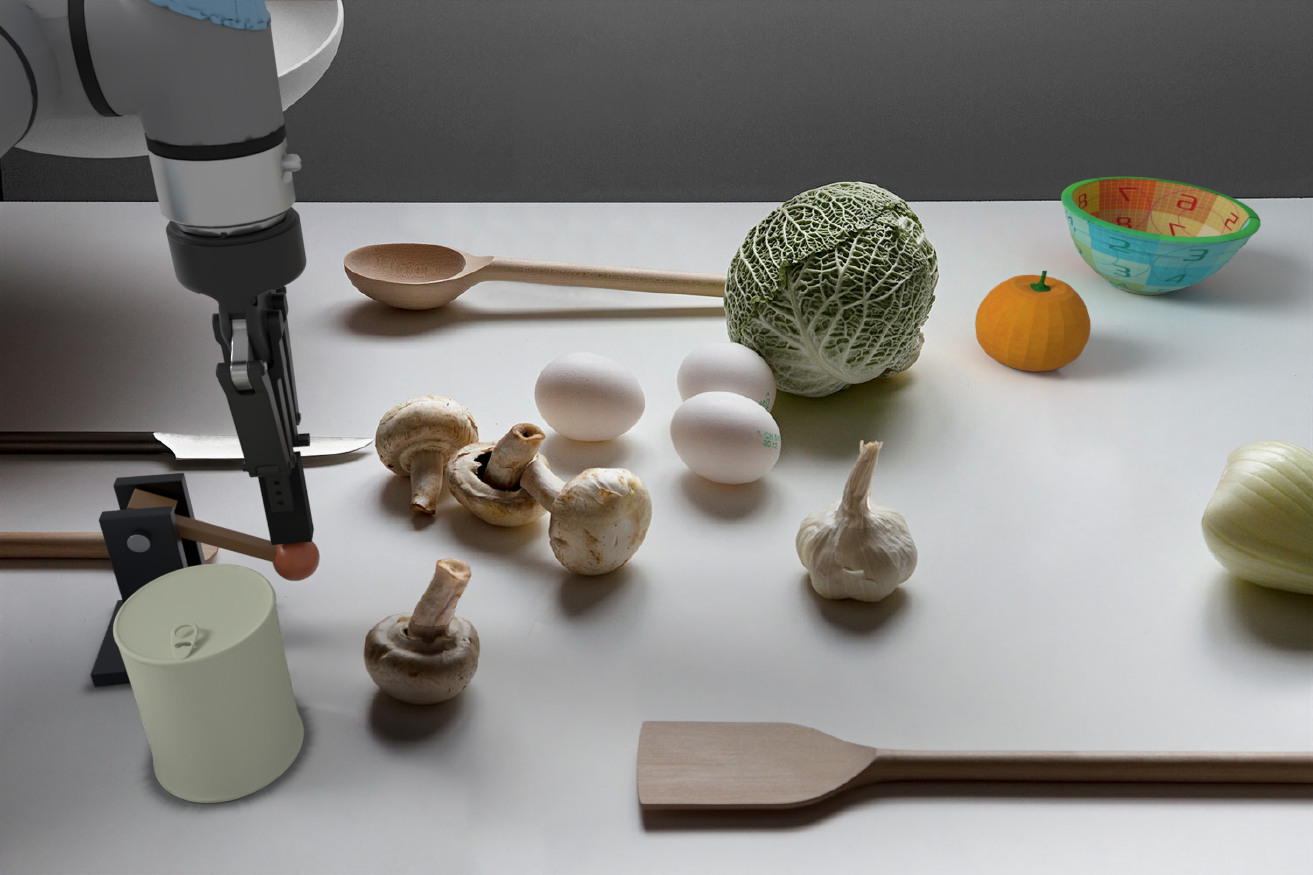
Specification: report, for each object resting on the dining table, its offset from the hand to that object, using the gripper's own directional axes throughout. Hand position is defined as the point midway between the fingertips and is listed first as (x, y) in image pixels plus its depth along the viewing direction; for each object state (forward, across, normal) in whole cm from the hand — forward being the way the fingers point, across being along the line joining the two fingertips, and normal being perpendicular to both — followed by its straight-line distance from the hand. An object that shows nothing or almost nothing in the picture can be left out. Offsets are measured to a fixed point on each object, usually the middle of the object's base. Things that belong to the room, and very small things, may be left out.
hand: (292, 536), depth 79 cm
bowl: (+9, +51, -95) cm, 108 cm away
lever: (+1, 0, +5) cm, 5 cm away
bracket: (+8, 0, +9) cm, 12 cm away
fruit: (+9, +34, -72) cm, 80 cm away
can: (+9, -11, +4) cm, 15 cm away
